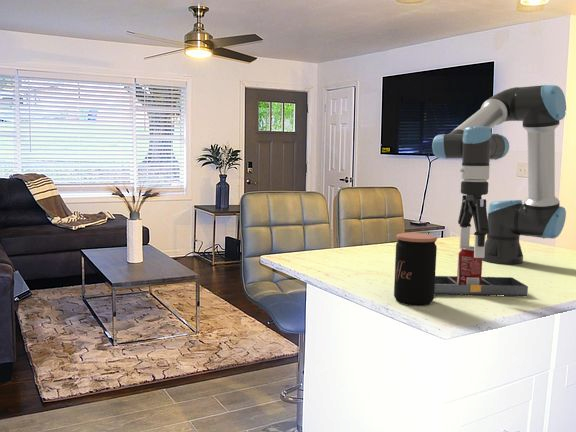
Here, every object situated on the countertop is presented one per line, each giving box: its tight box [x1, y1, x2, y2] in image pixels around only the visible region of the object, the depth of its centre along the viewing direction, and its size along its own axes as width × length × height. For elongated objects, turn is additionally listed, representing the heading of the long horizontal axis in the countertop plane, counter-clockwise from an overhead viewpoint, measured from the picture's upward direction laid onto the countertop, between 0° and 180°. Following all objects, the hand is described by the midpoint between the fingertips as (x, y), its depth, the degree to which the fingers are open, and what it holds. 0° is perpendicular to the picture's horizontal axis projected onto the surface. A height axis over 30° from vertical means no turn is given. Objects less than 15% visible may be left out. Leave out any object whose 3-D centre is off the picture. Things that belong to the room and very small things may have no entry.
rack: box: [434, 275, 529, 297], centre depth 163 cm, size 30×12×3 cm, turn 90°
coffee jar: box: [393, 232, 438, 307], centre depth 150 cm, size 11×11×18 cm
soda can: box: [456, 245, 483, 285], centre depth 163 cm, size 7×7×12 cm
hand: (471, 253), depth 163 cm, fingers open, 13 cm apart
